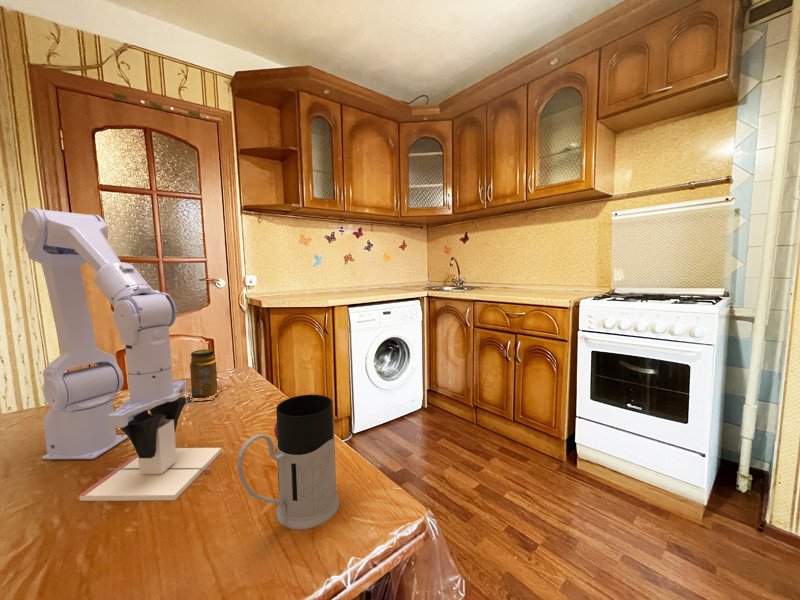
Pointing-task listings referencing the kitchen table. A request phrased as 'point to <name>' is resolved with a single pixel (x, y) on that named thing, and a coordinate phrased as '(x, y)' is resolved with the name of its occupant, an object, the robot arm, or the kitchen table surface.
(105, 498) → the notepad
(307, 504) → the glass holder
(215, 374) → the condiment
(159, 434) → the white bottle
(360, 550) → the kitchen table surface
